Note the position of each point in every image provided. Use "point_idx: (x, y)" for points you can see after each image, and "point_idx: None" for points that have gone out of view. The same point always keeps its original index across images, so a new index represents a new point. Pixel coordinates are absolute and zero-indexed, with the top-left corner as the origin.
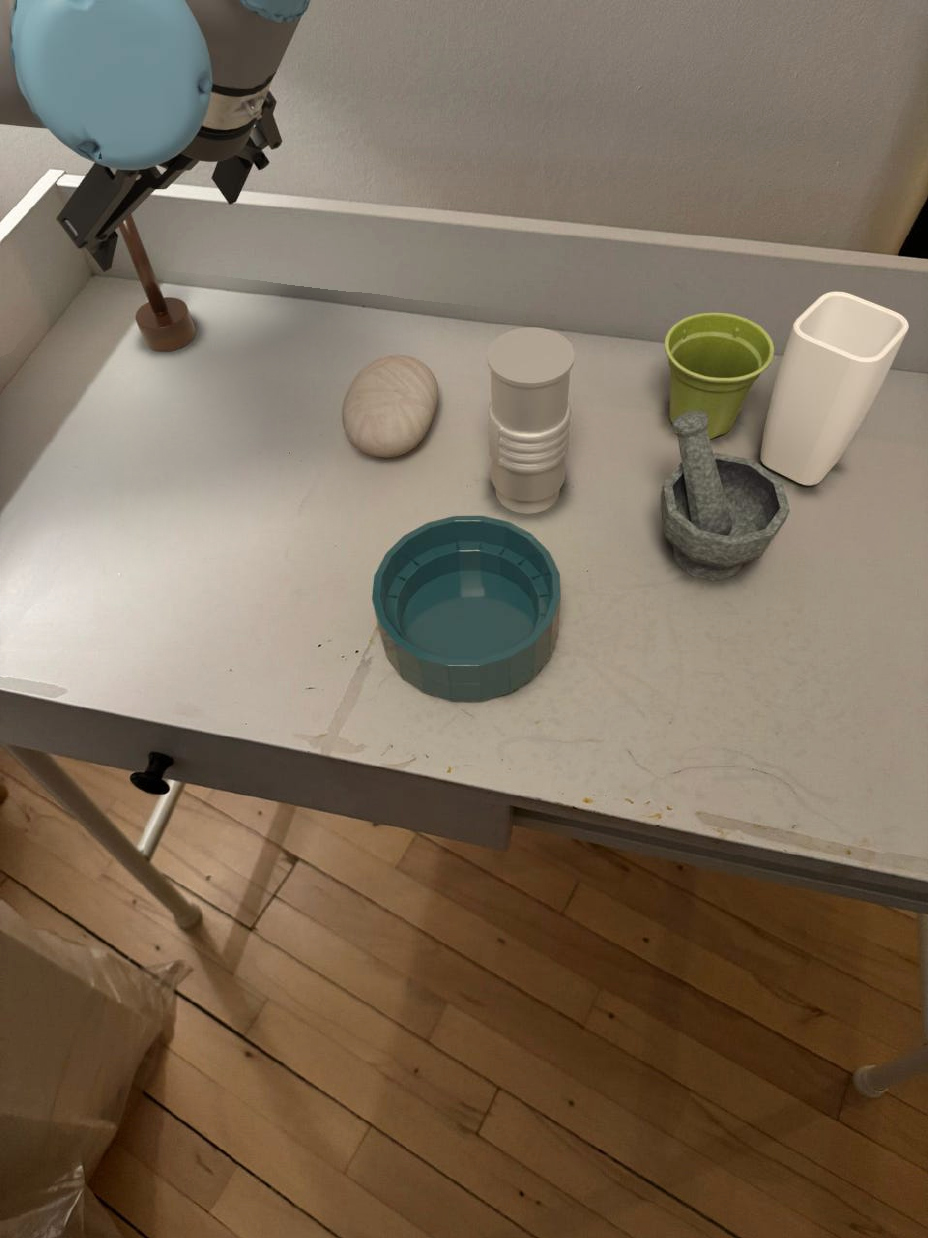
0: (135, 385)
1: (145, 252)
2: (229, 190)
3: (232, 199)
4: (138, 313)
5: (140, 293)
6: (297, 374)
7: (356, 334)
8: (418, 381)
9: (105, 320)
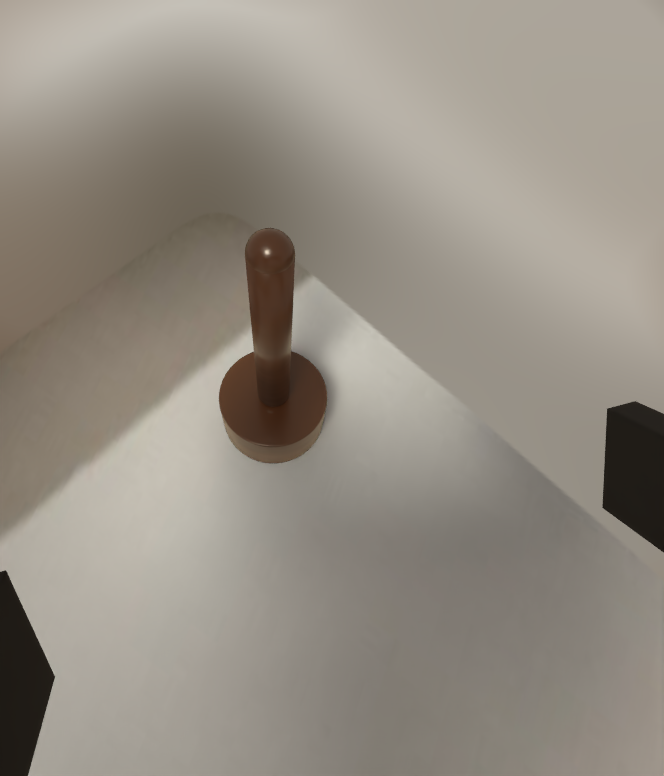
0: (154, 521)
1: (288, 336)
2: (657, 524)
3: (636, 531)
4: (232, 372)
5: None
6: (458, 692)
7: (609, 631)
8: None
9: (190, 307)
